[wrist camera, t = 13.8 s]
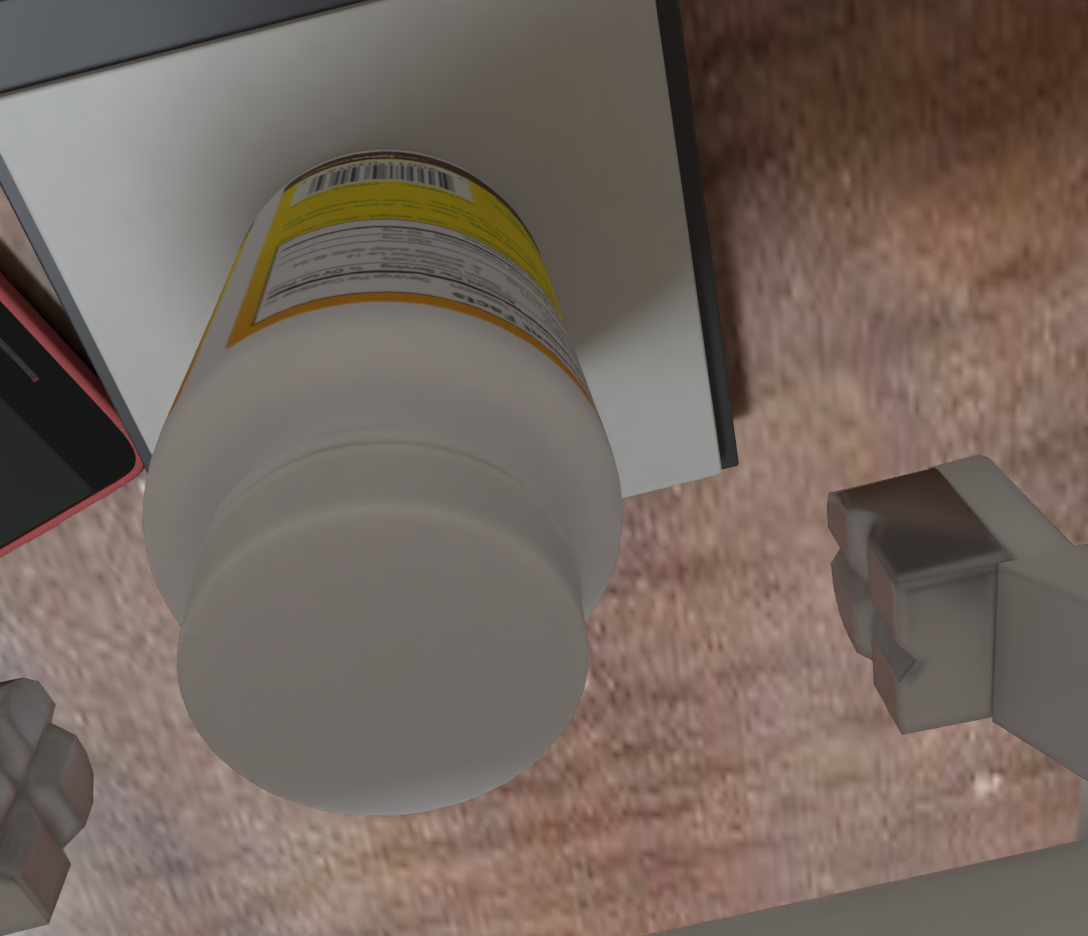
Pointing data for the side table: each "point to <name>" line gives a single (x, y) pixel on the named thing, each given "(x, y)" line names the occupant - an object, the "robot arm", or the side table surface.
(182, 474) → the supplement bottle
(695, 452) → the scale
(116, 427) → the smartphone
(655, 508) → the side table surface
